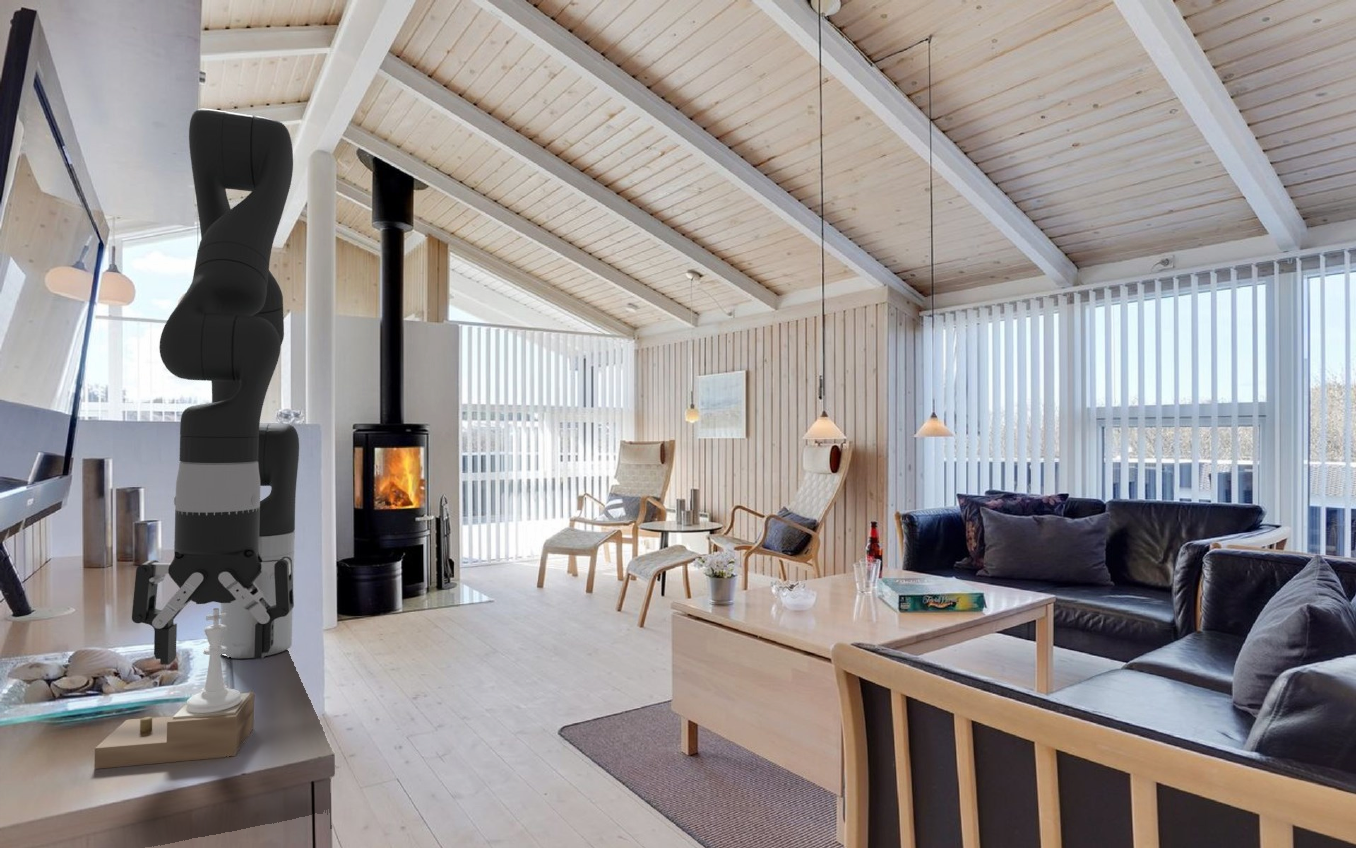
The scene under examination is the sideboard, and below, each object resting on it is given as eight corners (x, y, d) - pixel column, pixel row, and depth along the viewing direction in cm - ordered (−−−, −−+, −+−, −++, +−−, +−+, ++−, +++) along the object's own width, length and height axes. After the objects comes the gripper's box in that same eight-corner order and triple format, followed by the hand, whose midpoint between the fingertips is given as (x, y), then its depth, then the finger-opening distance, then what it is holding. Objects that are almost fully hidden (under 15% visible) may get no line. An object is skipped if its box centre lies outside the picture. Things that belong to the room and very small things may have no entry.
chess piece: (246, 705, 77) (248, 609, 77) (189, 717, 73) (192, 617, 73) (236, 692, 80) (238, 600, 80) (182, 702, 77) (184, 607, 77)
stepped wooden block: (126, 738, 78) (127, 699, 78) (253, 728, 81) (254, 690, 81) (94, 769, 71) (95, 725, 71) (234, 756, 74) (235, 714, 74)
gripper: (301, 500, 82) (297, 644, 82) (154, 501, 78) (150, 652, 78) (285, 509, 75) (281, 667, 75) (123, 509, 71) (119, 676, 71)
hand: (214, 659), depth 77 cm, fingers open, 8 cm apart
